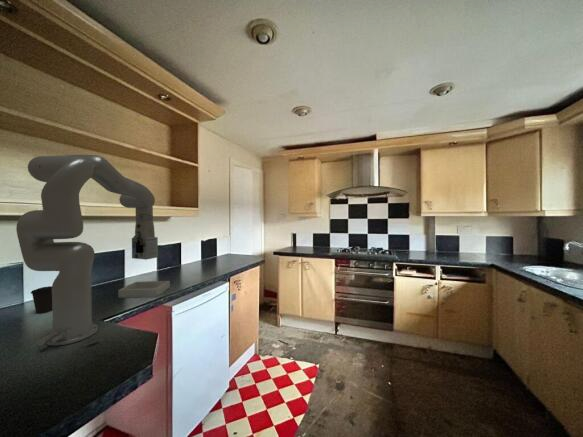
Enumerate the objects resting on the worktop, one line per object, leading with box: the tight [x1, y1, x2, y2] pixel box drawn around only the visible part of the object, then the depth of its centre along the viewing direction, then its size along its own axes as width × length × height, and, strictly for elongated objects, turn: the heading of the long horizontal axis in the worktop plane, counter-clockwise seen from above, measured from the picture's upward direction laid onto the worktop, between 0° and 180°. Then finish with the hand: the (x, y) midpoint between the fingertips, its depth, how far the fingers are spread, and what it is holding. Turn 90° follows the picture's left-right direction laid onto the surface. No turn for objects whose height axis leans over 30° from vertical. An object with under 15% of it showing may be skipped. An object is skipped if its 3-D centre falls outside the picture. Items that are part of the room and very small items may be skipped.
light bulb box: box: [131, 236, 159, 261], centre depth 118 cm, size 11×7×11 cm, turn 71°
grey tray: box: [117, 280, 171, 299], centre depth 118 cm, size 14×18×4 cm
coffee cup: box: [30, 285, 52, 315], centre depth 97 cm, size 8×8×10 cm
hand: (144, 251), depth 118 cm, fingers closed on light bulb box, 8 cm apart
